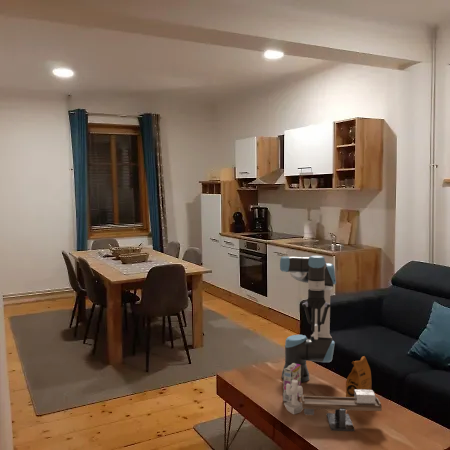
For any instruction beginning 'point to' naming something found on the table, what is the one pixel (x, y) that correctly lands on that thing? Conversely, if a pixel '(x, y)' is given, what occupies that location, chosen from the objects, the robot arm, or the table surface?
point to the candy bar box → (291, 374)
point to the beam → (335, 404)
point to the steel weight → (364, 397)
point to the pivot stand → (340, 421)
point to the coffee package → (358, 377)
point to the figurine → (294, 397)
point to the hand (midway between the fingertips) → (315, 338)
